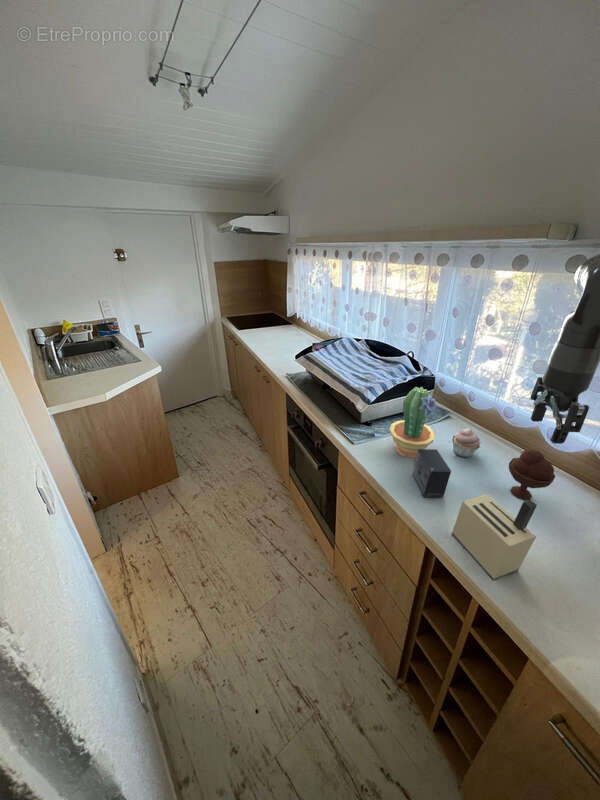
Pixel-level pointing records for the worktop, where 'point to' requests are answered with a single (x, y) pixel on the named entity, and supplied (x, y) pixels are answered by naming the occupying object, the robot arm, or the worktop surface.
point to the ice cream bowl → (530, 473)
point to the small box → (431, 473)
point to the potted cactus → (414, 423)
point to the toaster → (491, 536)
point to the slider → (524, 514)
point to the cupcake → (465, 443)
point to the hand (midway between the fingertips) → (545, 431)
